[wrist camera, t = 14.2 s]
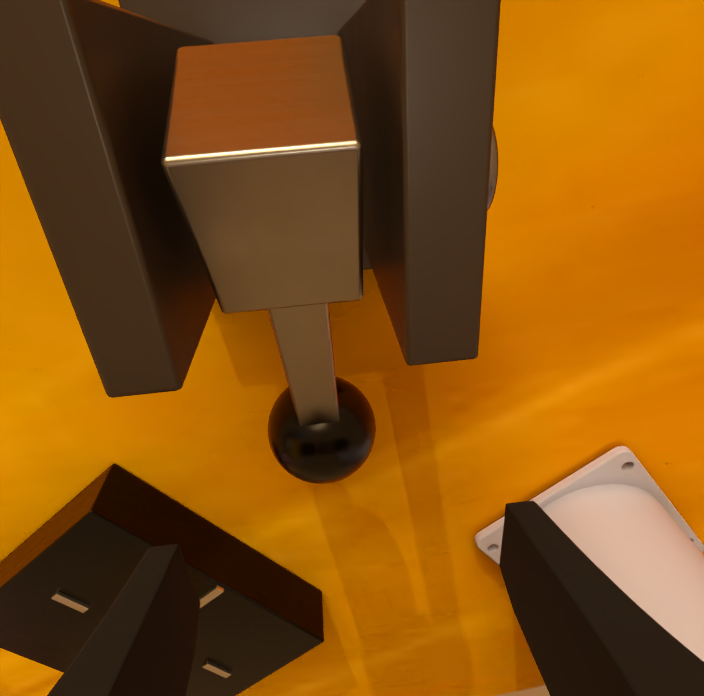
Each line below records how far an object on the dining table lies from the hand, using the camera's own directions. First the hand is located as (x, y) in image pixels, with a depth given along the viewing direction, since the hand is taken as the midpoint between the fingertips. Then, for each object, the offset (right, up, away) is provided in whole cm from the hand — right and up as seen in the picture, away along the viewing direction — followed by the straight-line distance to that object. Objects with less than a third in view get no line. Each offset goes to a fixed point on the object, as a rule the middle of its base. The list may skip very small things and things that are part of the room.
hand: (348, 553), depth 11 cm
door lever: (-1, +6, +1) cm, 6 cm away
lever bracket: (-2, +11, +3) cm, 11 cm away
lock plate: (-9, -6, +12) cm, 16 cm away
